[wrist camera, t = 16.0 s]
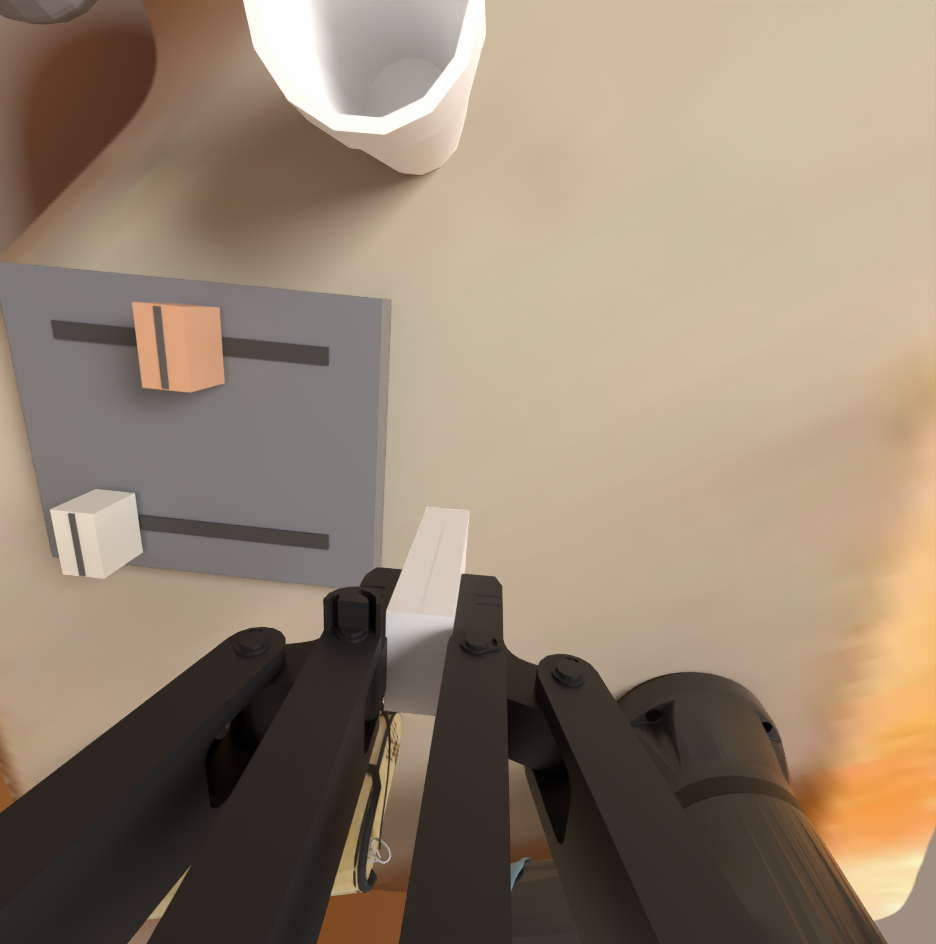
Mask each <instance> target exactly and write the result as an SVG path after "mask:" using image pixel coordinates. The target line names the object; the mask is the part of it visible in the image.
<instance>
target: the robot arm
mask: <svg viewBox="0 0 936 944" xmlns="http://www.w3.org/2000/svg"><path fill="white" fill-rule="evenodd" d="M468 523H469V510H463V509H451V508H439V507H428V506H427V508H426V510H425V513H424V516H423V518H422V521H421V523H420V526H419V528H418V531H417V533H416V536H415V539H414V541H413V544H412V546H411V549H410V551H409V554H408V556H407V559H406V562H405V564H404V567H403V569H392V568H381V567H376V568H375V569H373V570H372V571H370V572H369V573H367V574H366V575H365V576H364V578H363V580H362V582H361V584H360V586H355V587H345V588H340V589H337V590H335V591H333V592H331V593H329V594H328V595H327V596H326V597H325V598H324V599H323V605H324V631H323V633H322V635H321V637H320V638H319V639H316V640H313V641H308V642H302V643H293V644H286V641H285V637H284V635H283V634H282V632H280V631H278V630H276V629H274V628H267V627H257V628H256V627H255V628H249V629H246V630H243V631H240V632H237V633H236V634H234V635H232V636H230V637H229V638H227V639H226V640H225V641H223V642H222V643H221V644H219V645H218V646H217V647H216V648H214V649H213V650H212V651H210V652H209V653H208V654H206V655H205V656H204V657H203V658H201V659H200V660H199V661H197V662H196V663H195V664H193V665H192V666H191V667H190V668H188V669H187V670H186V671H184V672H183V673H182V674H180V675H179V676H178V677H177V678H175V679H174V680H173V681H171V682H170V683H169V684H167V685H166V686H165V687H164V688H162V689H161V690H160V691H158V692H157V693H156V694H154V695H153V696H152V697H151V698H149V699H148V700H147V701H145V702H144V703H143V704H141V705H140V706H139V707H138V708H136V709H135V710H134V711H132V712H131V713H130V714H128V715H127V716H126V717H125V718H123V719H122V720H121V721H119V722H118V723H117V724H115V725H114V726H113V727H111V728H110V729H109V730H108V731H106V732H105V733H104V734H102V735H101V736H100V737H98V738H97V739H96V740H95V741H93V742H92V743H91V744H89V745H88V746H87V747H85V748H84V749H83V750H82V751H80V752H79V753H78V754H76V755H75V756H74V757H72V758H71V759H70V760H69V761H67V762H66V763H65V764H63V765H62V766H61V767H59V768H58V769H57V770H56V771H54V772H53V773H52V774H50V775H49V776H48V777H46V778H45V779H44V780H43V781H41V782H40V783H39V784H37V785H36V786H35V787H33V788H32V789H31V790H30V791H28V792H27V793H26V794H24V795H23V796H22V797H20V798H19V799H18V800H17V801H15V802H14V803H13V804H11V805H10V806H9V807H7V808H6V809H5V810H4V811H2V812H1V813H0V944H127V943H128V942H129V941H130V940H131V938H132V937H133V936H134V935H135V934H136V932H137V931H138V930H139V929H140V927H141V926H142V925H143V924H144V922H145V921H146V920H147V919H148V918H149V916H150V915H151V914H152V913H153V911H154V910H155V909H156V908H157V906H158V905H159V904H160V903H161V902H162V900H163V899H164V898H165V897H166V895H167V894H168V893H169V892H170V890H171V889H172V888H173V887H174V885H175V884H176V883H177V882H178V881H179V879H180V878H181V877H182V876H183V874H184V873H185V872H186V871H187V869H188V868H189V867H190V868H189V870H188V872H187V873H186V875H185V877H184V879H183V880H182V882H181V884H180V886H179V887H178V889H177V891H176V893H175V895H174V896H173V898H172V900H171V902H170V903H169V905H168V907H167V909H166V910H165V912H164V914H163V916H162V917H161V919H160V921H159V923H158V925H157V927H156V928H155V930H154V932H153V933H152V935H151V937H150V939H149V940H148V942H147V944H317V940H318V937H319V933H320V930H321V927H322V923H323V920H324V916H325V913H326V909H327V906H328V902H329V899H330V896H331V892H332V889H333V885H334V882H335V878H336V875H337V872H338V868H339V865H340V861H341V858H342V854H343V851H344V847H345V844H346V841H347V837H348V834H349V830H350V827H351V823H352V820H353V817H354V813H355V810H356V806H357V803H358V799H359V796H360V792H361V789H362V786H363V782H364V779H365V775H366V772H367V768H368V765H369V762H370V758H371V755H372V751H373V748H374V744H375V741H376V737H377V734H378V731H379V719H380V707H381V704H382V701H383V698H384V711H393V712H403V713H413V714H423V715H432V716H436V718H435V724H434V730H433V736H432V743H431V749H430V755H429V761H428V767H427V774H426V780H425V786H424V792H423V798H422V804H421V811H420V817H419V823H418V829H417V835H416V841H415V848H414V854H413V860H412V866H411V872H410V878H409V885H408V891H407V898H406V903H405V909H404V916H403V922H402V928H401V934H400V940H399V944H887V942H886V941H885V939H884V937H883V936H882V934H881V932H880V931H879V929H878V928H877V926H876V924H875V923H874V921H873V920H872V918H871V917H870V915H869V913H868V912H867V910H866V909H865V907H864V905H863V904H862V902H861V901H860V899H859V897H858V896H857V894H856V893H855V891H854V890H853V888H852V886H851V885H850V883H849V882H848V880H847V878H846V877H845V875H844V874H843V872H842V871H841V869H840V867H839V866H838V864H837V863H836V861H835V859H834V858H833V856H832V855H831V853H830V851H829V850H828V848H827V847H826V845H825V844H824V842H823V840H822V839H821V837H820V836H819V834H818V832H817V831H816V829H815V828H814V826H813V824H812V823H811V822H810V820H809V818H808V817H807V815H806V814H805V812H804V810H803V809H802V807H801V805H800V804H799V802H798V800H797V799H796V796H795V792H794V788H793V785H792V781H791V777H790V773H789V769H788V765H787V761H786V757H785V753H784V749H783V745H782V741H781V738H780V735H779V732H778V730H777V728H776V726H775V724H774V722H773V721H772V719H771V718H770V716H769V715H768V713H767V712H766V710H765V709H764V707H763V706H762V704H761V703H760V701H759V700H758V699H757V698H756V697H755V696H754V695H753V694H752V693H751V692H750V691H749V690H747V689H746V688H745V687H743V686H742V685H740V684H738V683H736V682H734V681H732V680H730V679H727V678H724V677H721V676H717V675H712V674H705V673H680V674H673V675H668V676H664V677H660V678H657V679H654V680H652V681H649V682H647V683H645V684H643V685H641V686H639V687H638V688H636V689H634V690H633V691H631V692H630V693H629V694H627V695H626V696H625V697H624V698H623V699H622V700H621V701H620V702H619V703H618V704H617V702H616V701H615V699H614V698H613V696H612V694H611V693H610V691H609V690H608V688H607V687H606V685H605V683H604V682H603V680H602V679H601V677H600V675H599V674H598V672H597V671H596V670H595V669H594V668H593V667H592V666H591V664H589V663H587V662H586V661H584V660H582V659H581V658H578V657H575V656H572V655H567V654H554V655H549V656H547V657H545V658H544V659H542V660H541V661H540V663H539V665H535V664H532V663H529V662H526V661H524V660H522V659H519V658H518V657H516V656H515V655H513V654H512V653H511V652H510V651H509V650H508V649H507V647H506V646H505V643H504V640H503V607H502V606H503V603H502V585H501V584H500V583H499V581H498V580H497V579H496V577H494V576H483V575H472V574H465V563H466V550H467V537H468ZM508 759H510V760H513V761H515V762H517V763H520V764H522V765H525V774H526V777H527V780H528V783H529V786H530V789H531V793H532V796H533V799H534V802H535V805H536V808H537V811H538V814H539V817H540V820H541V823H542V826H543V829H544V832H545V835H546V838H547V841H548V844H549V848H550V851H551V854H552V857H553V859H546V860H534V861H532V860H531V858H530V857H529V858H528V857H525V858H522V859H520V860H519V861H518V862H515V863H511V862H510V816H509V770H508Z"/></svg>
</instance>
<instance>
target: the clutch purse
mask: <svg viewBox="0 0 936 944" xmlns="http://www.w3.org/2000/svg"><path fill="white" fill-rule="evenodd" d="M380 710H381V712H382V714H383V716H380V719H379V731H378V734H377V737H376V741H375V744H374V748H373V751H372V755H371V758H370V762H369V765H368V768H367V772H366V775H365V779H364V782H363V786H362V789H361V792H360V796H359V799H358V803H357V806H356V810H355V813H354V817H353V820H352V823H351V827H350V830H349V834H348V837H347V841H346V844H345V847H344V851H343V854H342V858H341V861H340V865H339V868H338V872H337V875H336V878H335V882H334V885H333V889H332V892H331V896H336V895H344V894H351V893H360V892H364V893H366V892H368V891H370V890H371V889H372V888H373V886H374V884H375V882H376V880H377V875H376V874H375V873H374V871H373V870H372V867H373V863H374V862H377V861H378V862H380V863H382V864H385V863H387V862H389V860H390V858H391V852H390V849H389V847H388V846H387V844H386V843H385V842H384V841H383V840H381V833H382V824H383V819H384V814H385V810H386V805H387V800H388V796H389V791H390V787H391V782H392V778H393V774H394V769H395V765H396V760H397V755H398V750H399V744H400V737H401V717H400V714H399V713H398V712H393V714H390V715H388V713H387V711H384V704H383V703H382V704H381V707H380ZM378 842H379V849H381V843H382V844H383V845H384V846H385V847H386V849H387V851H388V859H387V860H386V861H382V860H380V859H381V857H380V855H379V852H378V850H377V847H378ZM376 852H377V854H378V856H379V858H378V857H377V856H376ZM374 859H376V860H374ZM189 868H190V867H189ZM189 868H188V869H187V871H186V872H185V873H184V874H183V876H182V877H181V878H180V879H179V881H178V882H177V883H176V884H175V885H174V887H173V888H172V889H171V890H170V892H169V893H168V894H167V895H166V897H165V898H164V899H163V900H162V902H161V903H160V904H159V905H158V906H157V908H156V909H155V910H154V911H153V913H152V914H151V915H150V916H149V918H148V919H156V918H161V917H162V916H163V914H164V912H165V910H166V909H167V907H168V905H169V903H170V902H171V900H172V898H173V896H174V895H175V893H176V891H177V889H178V887H179V886H180V884H181V882H182V880H183V879H184V877H185V875H186V873H187V872H188V870H189Z"/></svg>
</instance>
